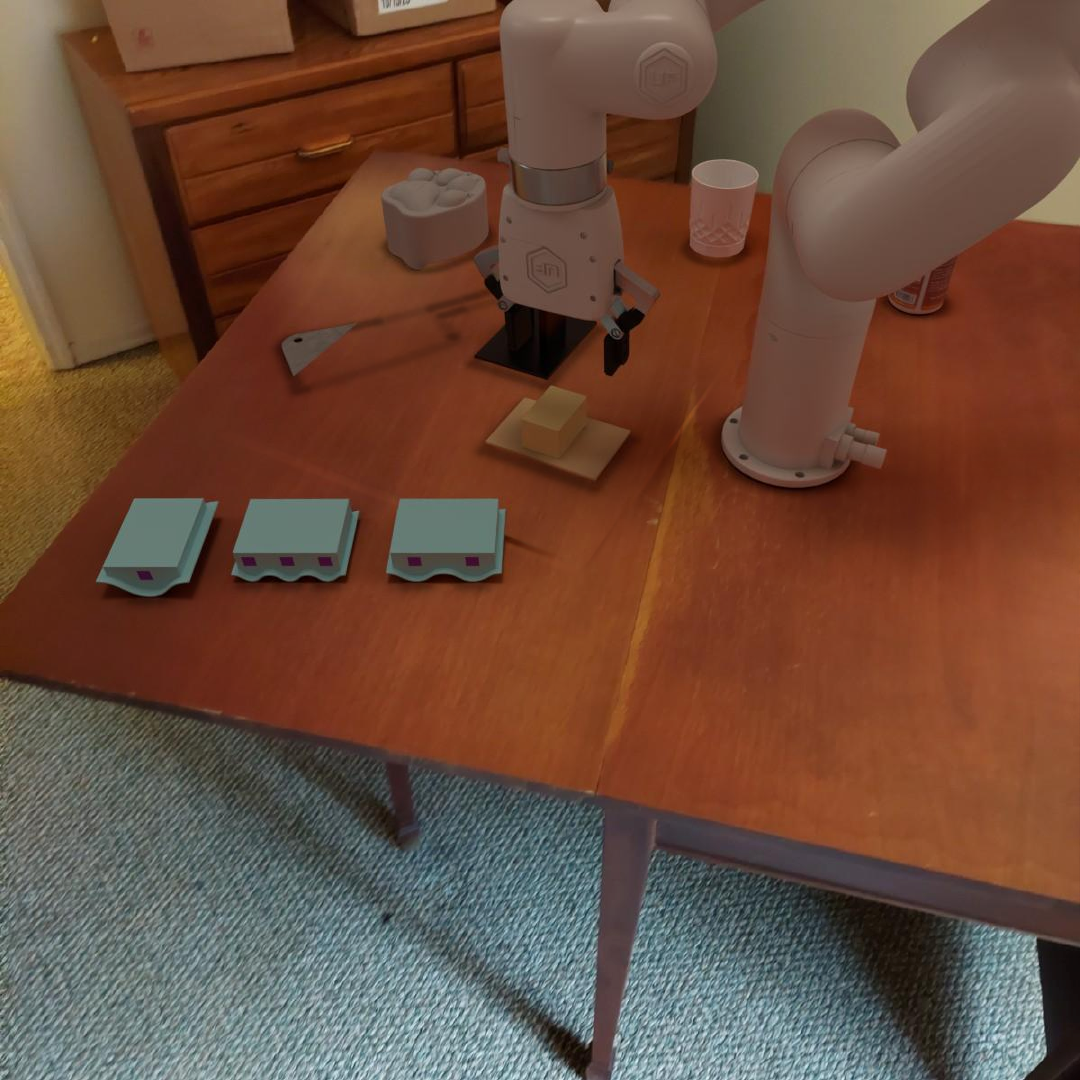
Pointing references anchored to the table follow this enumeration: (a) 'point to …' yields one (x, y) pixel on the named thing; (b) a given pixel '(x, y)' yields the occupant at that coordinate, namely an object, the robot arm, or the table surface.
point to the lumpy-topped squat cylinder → (435, 215)
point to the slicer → (538, 344)
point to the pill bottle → (925, 291)
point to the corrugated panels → (303, 541)
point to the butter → (554, 422)
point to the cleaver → (310, 346)
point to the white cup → (721, 206)
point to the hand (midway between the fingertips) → (567, 355)
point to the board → (579, 458)
